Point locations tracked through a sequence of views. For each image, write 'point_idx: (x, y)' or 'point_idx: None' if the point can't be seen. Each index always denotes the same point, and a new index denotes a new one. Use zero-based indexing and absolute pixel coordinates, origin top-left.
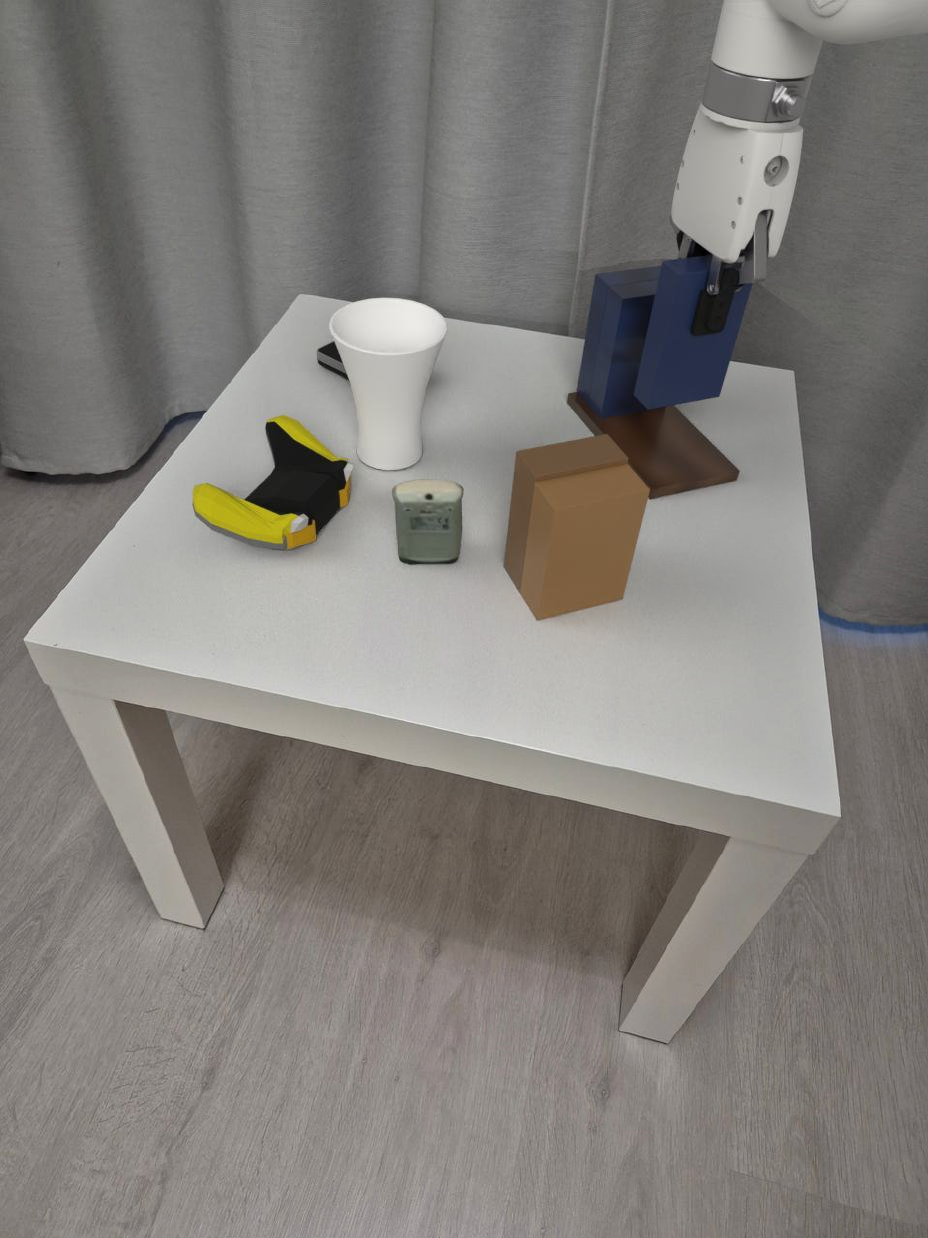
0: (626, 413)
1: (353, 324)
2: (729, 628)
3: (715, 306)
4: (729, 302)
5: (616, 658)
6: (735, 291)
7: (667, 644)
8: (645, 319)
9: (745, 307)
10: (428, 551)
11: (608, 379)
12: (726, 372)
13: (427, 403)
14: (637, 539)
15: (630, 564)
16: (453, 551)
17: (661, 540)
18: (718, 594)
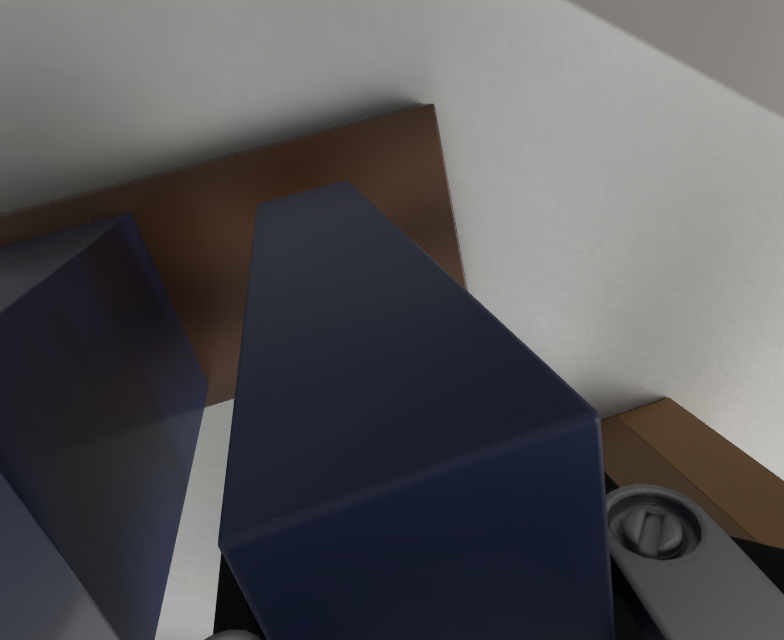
0: (182, 325)
1: None
2: (763, 263)
3: None
4: (604, 471)
5: (749, 417)
6: (658, 506)
7: (754, 354)
8: (115, 497)
9: (437, 264)
10: None
11: (195, 444)
12: (361, 193)
13: None
14: (763, 466)
15: (721, 436)
16: None
17: (570, 317)
18: (703, 258)
